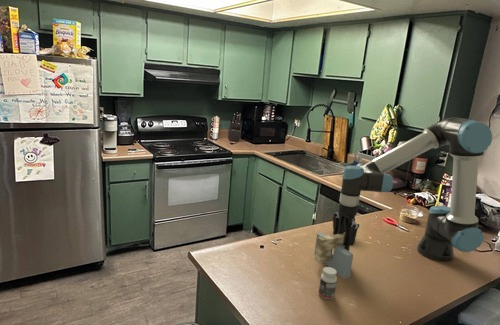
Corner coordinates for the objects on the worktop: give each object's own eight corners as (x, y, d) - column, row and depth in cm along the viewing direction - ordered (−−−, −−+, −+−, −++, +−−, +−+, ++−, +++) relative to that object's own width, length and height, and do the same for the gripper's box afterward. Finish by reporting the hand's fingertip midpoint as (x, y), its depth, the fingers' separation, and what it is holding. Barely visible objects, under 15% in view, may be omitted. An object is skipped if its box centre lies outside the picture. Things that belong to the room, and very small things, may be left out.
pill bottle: (316, 290, 127) (319, 265, 125) (331, 290, 128) (335, 266, 126) (320, 299, 122) (324, 274, 119) (336, 300, 122) (340, 275, 120)
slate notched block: (349, 277, 137) (353, 254, 135) (343, 278, 136) (347, 255, 134) (319, 253, 155) (322, 232, 153) (314, 254, 154) (317, 233, 151)
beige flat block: (343, 254, 149) (347, 232, 147) (348, 257, 147) (351, 235, 144) (314, 259, 143) (317, 237, 141) (318, 262, 140) (322, 240, 138)
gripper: (369, 210, 136) (360, 264, 141) (343, 196, 150) (335, 246, 155) (354, 211, 132) (345, 267, 138) (329, 197, 147) (321, 248, 152)
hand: (340, 255), depth 147 cm, fingers closed on beige flat block, 3 cm apart
